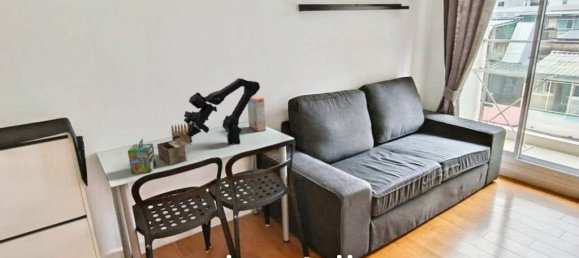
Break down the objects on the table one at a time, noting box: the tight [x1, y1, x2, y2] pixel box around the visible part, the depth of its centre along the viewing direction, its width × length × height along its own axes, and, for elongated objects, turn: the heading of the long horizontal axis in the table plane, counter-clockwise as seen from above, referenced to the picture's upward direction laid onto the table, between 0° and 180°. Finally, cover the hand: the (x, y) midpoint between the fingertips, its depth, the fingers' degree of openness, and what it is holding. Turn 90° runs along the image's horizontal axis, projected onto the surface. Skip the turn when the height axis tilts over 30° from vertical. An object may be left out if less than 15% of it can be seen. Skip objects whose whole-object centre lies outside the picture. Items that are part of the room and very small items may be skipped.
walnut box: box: [156, 140, 187, 167], centre depth 174 cm, size 9×13×8 cm
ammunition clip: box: [170, 122, 193, 144], centre depth 198 cm, size 11×2×12 cm, turn 116°
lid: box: [167, 133, 192, 147], centre depth 175 cm, size 8×11×4 cm
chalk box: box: [127, 138, 157, 174], centre depth 162 cm, size 9×9×15 cm
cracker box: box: [247, 94, 267, 133], centre depth 220 cm, size 14×6×21 cm, turn 30°
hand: (186, 138), depth 178 cm, fingers closed, pressing on lid
